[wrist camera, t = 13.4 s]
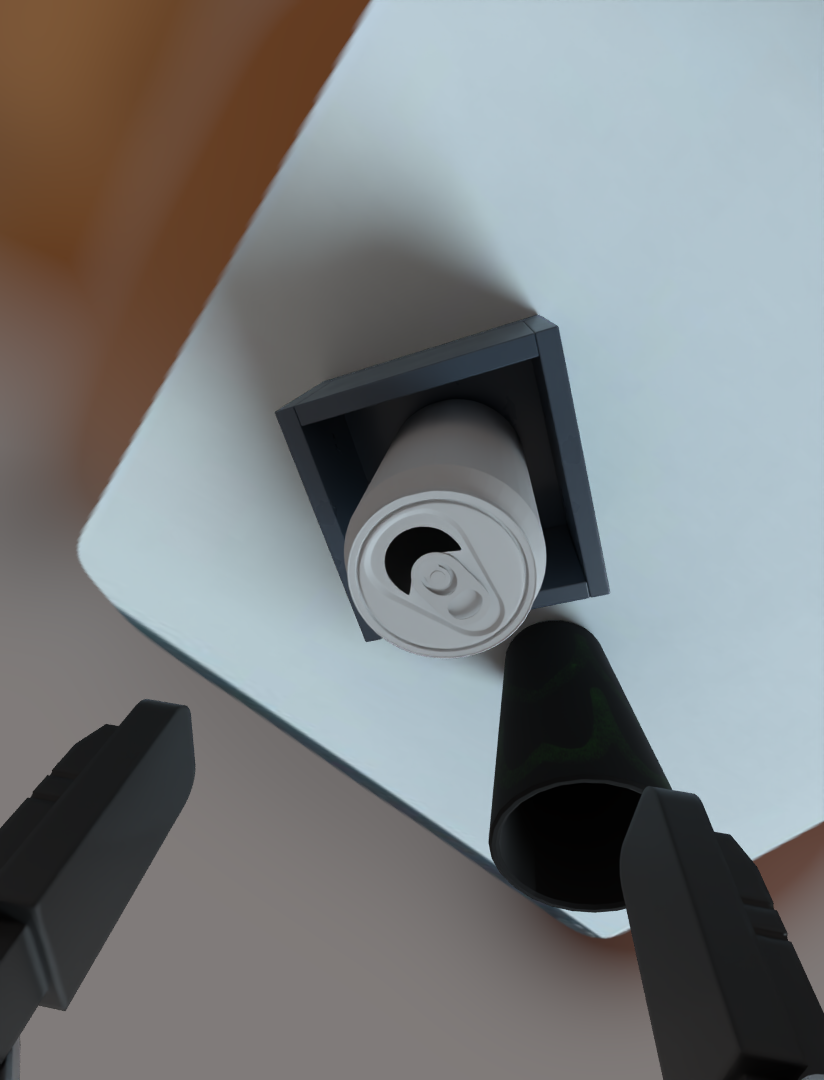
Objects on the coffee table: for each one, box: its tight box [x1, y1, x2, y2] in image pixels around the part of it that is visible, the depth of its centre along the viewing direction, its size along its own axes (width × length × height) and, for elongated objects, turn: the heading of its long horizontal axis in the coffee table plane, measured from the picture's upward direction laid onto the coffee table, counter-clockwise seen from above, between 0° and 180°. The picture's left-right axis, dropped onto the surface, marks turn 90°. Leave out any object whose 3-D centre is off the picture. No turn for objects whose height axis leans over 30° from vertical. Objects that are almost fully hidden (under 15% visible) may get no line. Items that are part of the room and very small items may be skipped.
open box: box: [275, 315, 610, 642], centre depth 25 cm, size 11×11×7 cm
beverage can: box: [344, 399, 546, 659], centre depth 22 cm, size 6×6×12 cm
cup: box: [489, 621, 672, 912], centre depth 27 cm, size 8×8×12 cm
